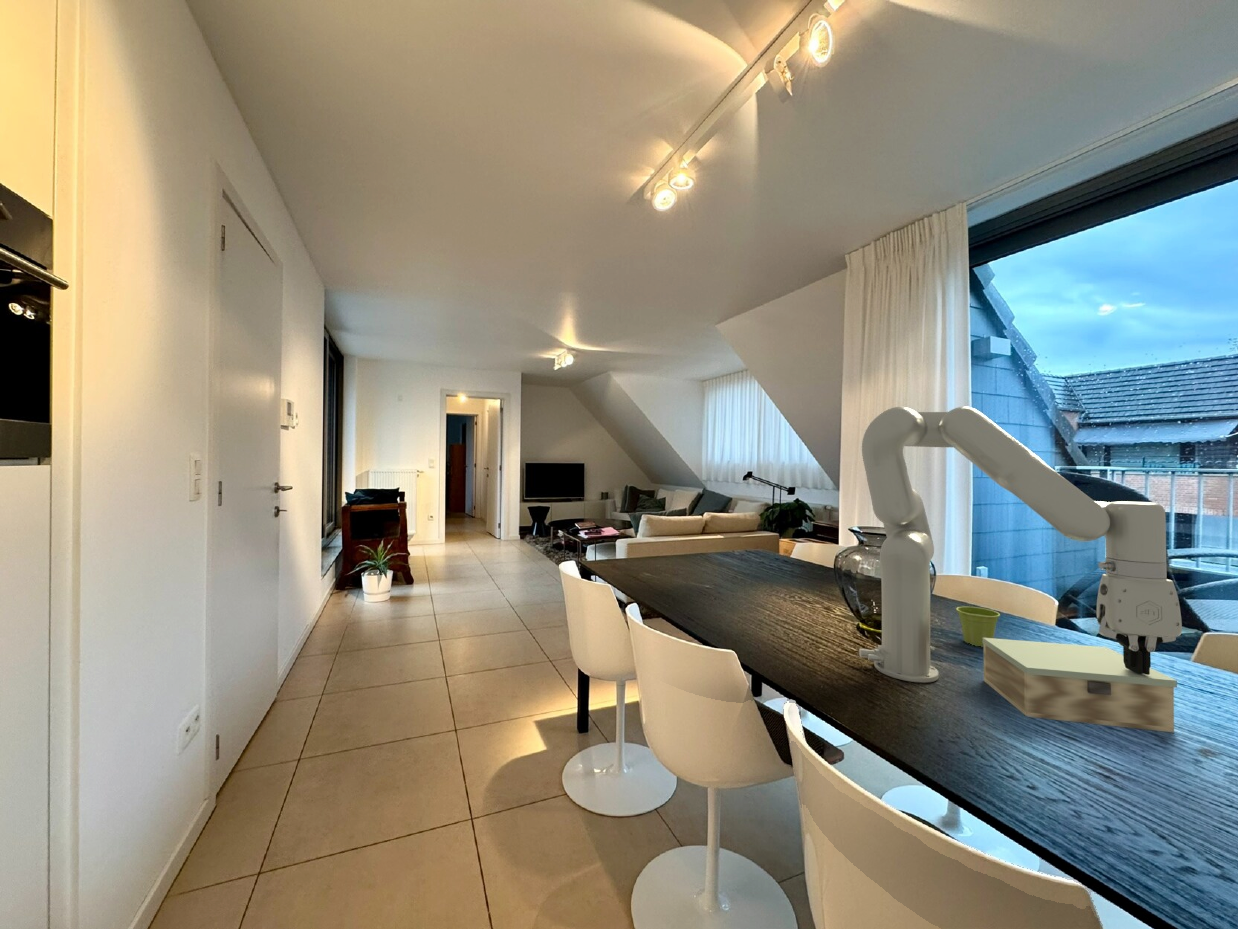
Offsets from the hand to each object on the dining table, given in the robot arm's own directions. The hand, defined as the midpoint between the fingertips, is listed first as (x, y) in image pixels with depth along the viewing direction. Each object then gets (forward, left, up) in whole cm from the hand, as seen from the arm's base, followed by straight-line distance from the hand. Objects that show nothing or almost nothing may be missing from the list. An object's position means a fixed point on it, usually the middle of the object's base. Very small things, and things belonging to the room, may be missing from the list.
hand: (1137, 671), depth 87 cm
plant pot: (-8, +40, -10) cm, 42 cm away
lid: (-7, +6, -1) cm, 9 cm away
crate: (-7, +6, -10) cm, 13 cm away
